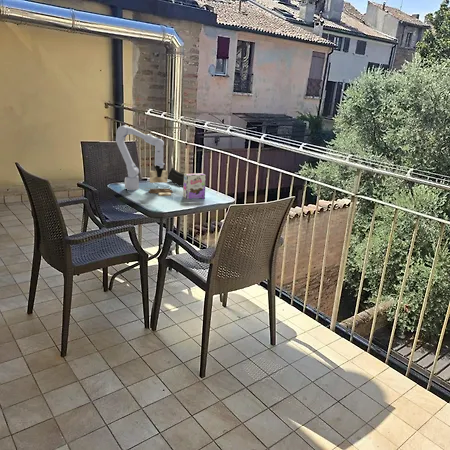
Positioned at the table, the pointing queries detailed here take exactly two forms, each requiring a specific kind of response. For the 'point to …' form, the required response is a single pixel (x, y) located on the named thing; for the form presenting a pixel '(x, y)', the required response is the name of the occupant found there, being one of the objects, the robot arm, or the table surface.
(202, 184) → the candy box
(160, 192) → the frame
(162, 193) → the offcut top
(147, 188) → the mat
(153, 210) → the table surface
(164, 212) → the table surface
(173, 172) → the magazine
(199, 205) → the table surface
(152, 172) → the wooden block
